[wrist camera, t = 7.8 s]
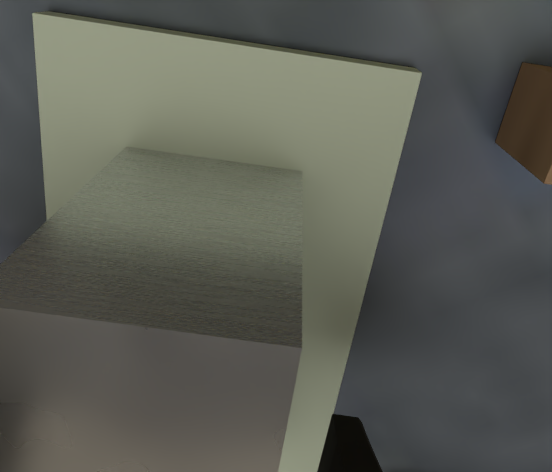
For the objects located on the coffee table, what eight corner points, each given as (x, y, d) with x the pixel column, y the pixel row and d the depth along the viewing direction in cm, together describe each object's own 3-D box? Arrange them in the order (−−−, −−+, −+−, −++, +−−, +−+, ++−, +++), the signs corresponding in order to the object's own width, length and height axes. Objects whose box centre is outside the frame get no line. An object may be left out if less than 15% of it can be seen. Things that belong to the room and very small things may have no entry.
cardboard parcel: (763, 99, 12) (890, 132, 10) (518, 533, 20) (551, 618, 17) (522, 62, 12) (583, 85, 10) (367, 512, 20) (377, 595, 17)
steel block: (302, 171, 13) (301, 347, 7) (257, 446, 17) (233, 706, 11) (125, 146, 13) (-41, 302, 7) (126, 429, 17) (28, 680, 11)
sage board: (414, 67, 12) (422, 73, 12) (306, 495, 20) (306, 515, 19) (48, 10, 12) (32, 13, 12) (73, 464, 19) (64, 482, 19)
